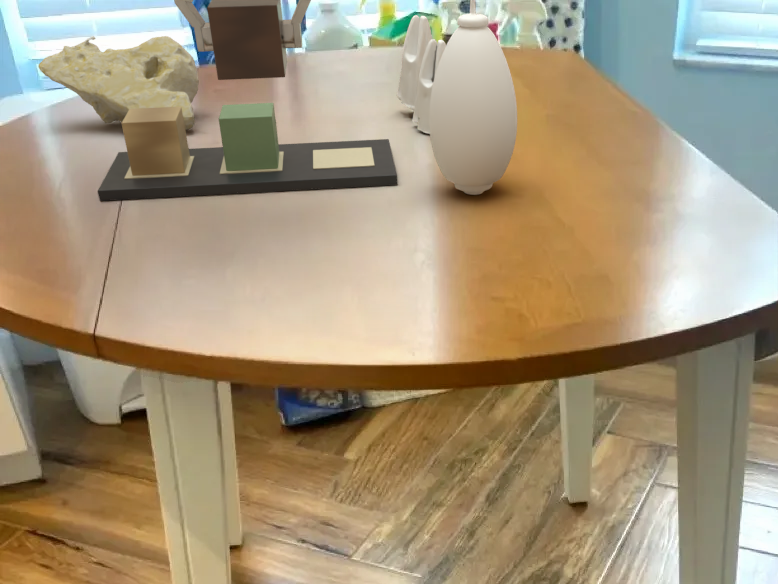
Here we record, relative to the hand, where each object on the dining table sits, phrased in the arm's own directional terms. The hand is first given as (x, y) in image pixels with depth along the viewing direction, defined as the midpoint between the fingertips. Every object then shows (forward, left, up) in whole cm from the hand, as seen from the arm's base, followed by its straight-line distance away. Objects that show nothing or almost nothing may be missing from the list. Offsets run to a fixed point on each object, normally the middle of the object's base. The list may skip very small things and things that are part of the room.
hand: (250, 48), depth 73 cm
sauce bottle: (+18, +9, -15) cm, 26 cm away
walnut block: (0, 0, -2) cm, 2 cm away
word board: (-3, +18, -15) cm, 24 cm away
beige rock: (-18, +37, -15) cm, 44 cm away
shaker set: (+16, +33, -15) cm, 40 cm away
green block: (-3, +18, -14) cm, 23 cm away
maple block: (-11, +18, -14) cm, 25 cm away
